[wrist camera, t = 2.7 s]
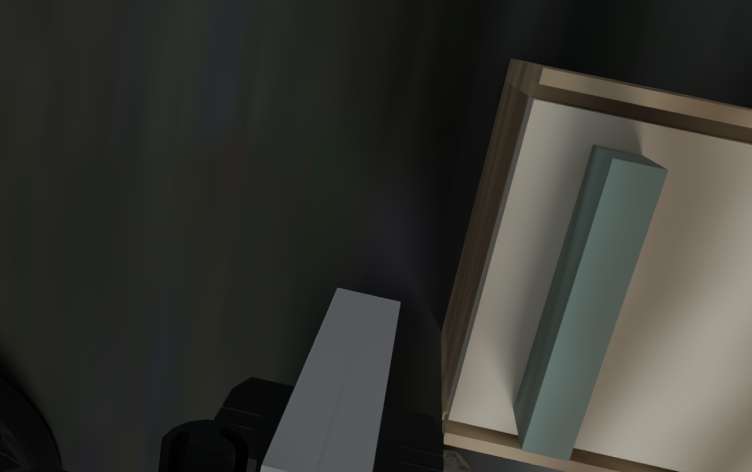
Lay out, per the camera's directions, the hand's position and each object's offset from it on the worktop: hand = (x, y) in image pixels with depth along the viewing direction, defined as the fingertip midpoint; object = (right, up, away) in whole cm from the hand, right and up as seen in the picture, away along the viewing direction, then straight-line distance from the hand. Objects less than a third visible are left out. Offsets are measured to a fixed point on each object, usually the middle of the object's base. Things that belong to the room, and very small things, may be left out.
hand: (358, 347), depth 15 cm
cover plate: (+15, -1, +8) cm, 17 cm away
